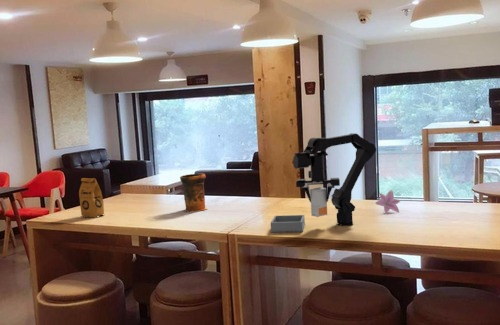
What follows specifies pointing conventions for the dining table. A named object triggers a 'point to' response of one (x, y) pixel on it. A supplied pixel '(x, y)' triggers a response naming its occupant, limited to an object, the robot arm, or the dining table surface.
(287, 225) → the box
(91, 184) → the coffee package
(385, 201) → the lily
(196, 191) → the vessel
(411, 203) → the dining table surface
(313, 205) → the skincare box
